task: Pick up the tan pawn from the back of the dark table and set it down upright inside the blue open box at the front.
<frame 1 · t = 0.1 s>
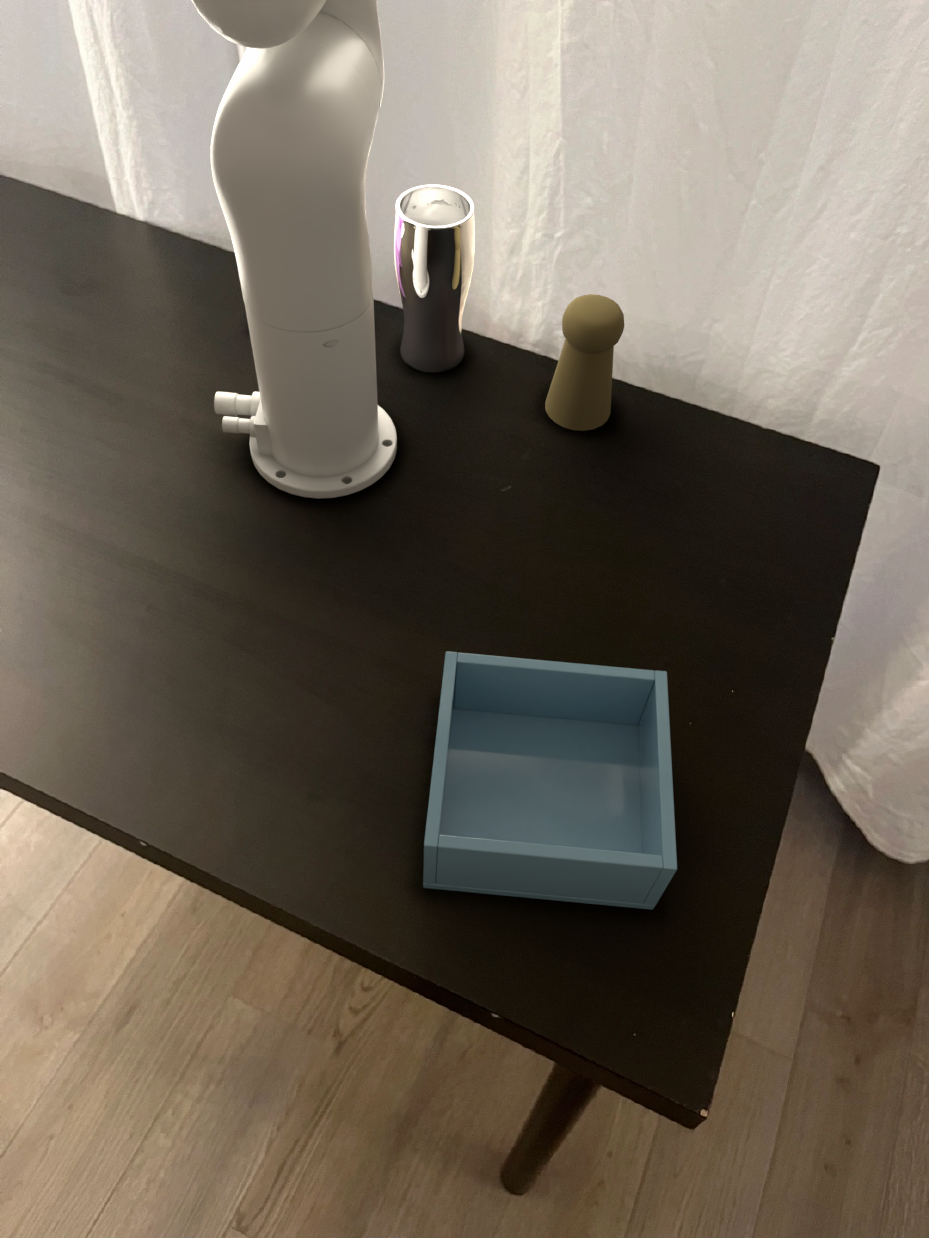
beer glass: (432, 354, 91), on the table
blue open box: (541, 800, 64), on the table
tan pawn: (577, 409, 88), on the table
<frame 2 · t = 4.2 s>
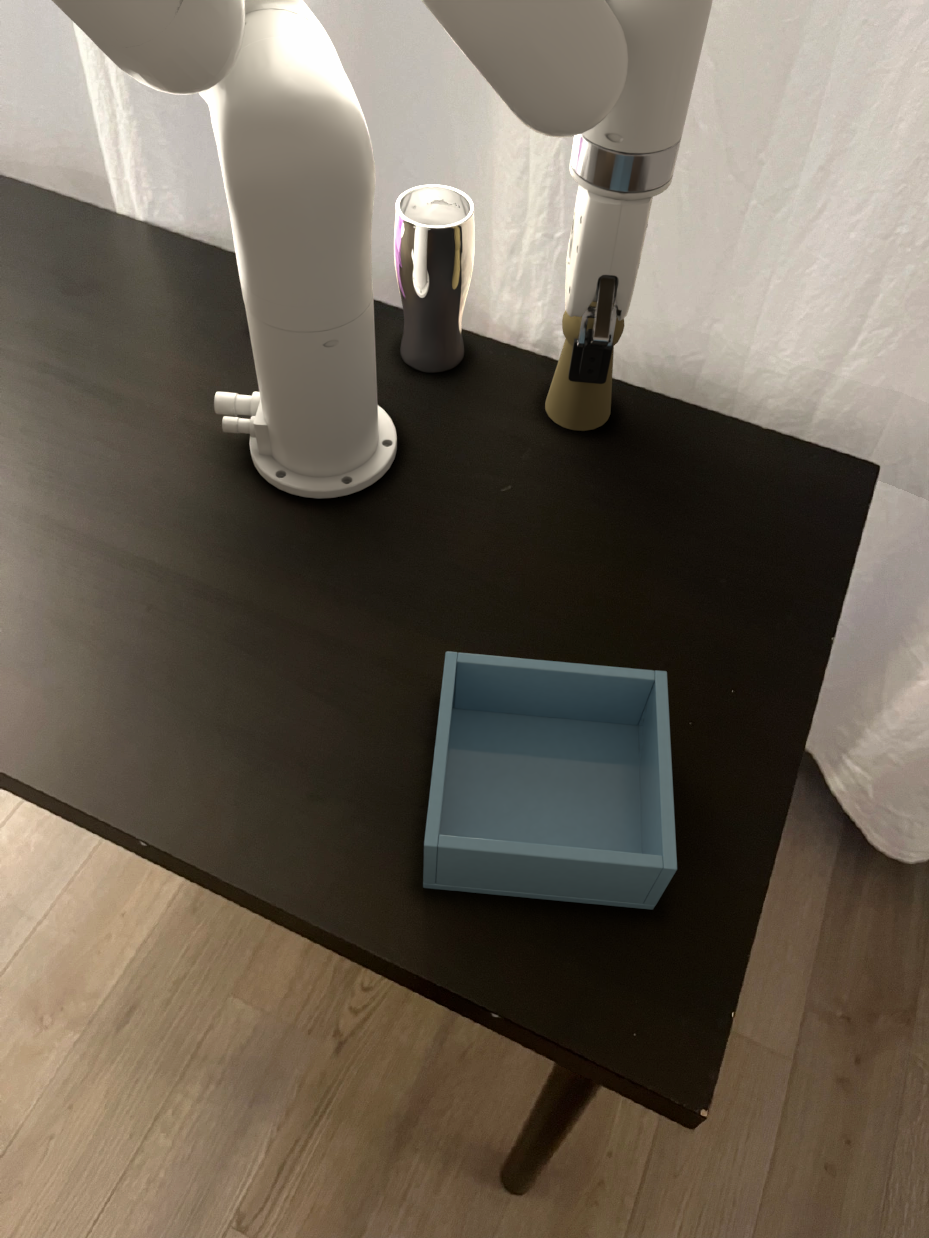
hand: (587, 356, 83), 6 cm above the table, tool pointing down, fingers closed on tan pawn, 5 cm apart
tan pawn: (577, 409, 88), on the table, touching gripper
everything else where it was.
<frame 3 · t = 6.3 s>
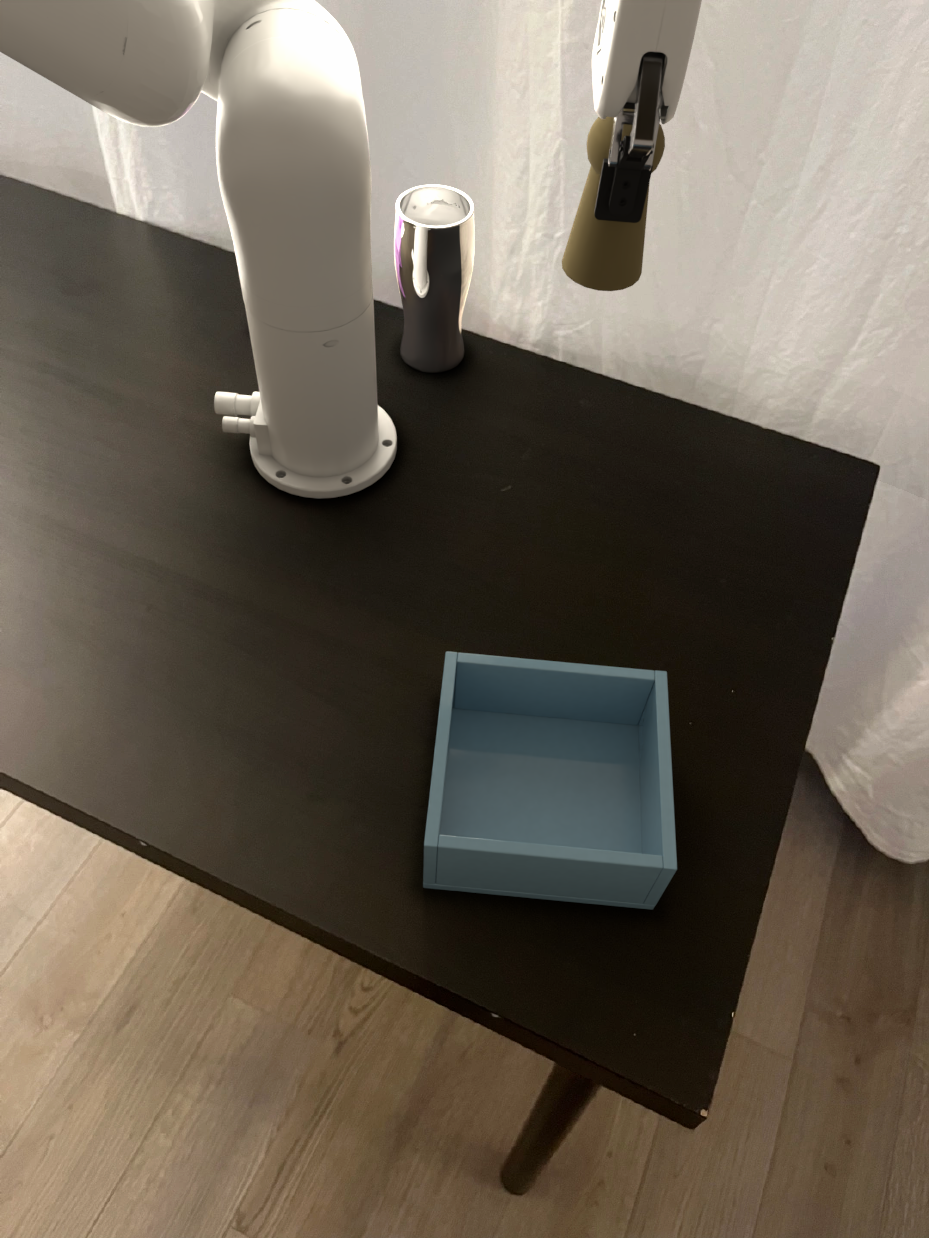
hand: (615, 193, 67), 23 cm above the table, tool pointing down, fingers closed on tan pawn, 5 cm apart
tan pawn: (601, 269, 72), point 17 cm above the table, touching gripper
everything else where it was.
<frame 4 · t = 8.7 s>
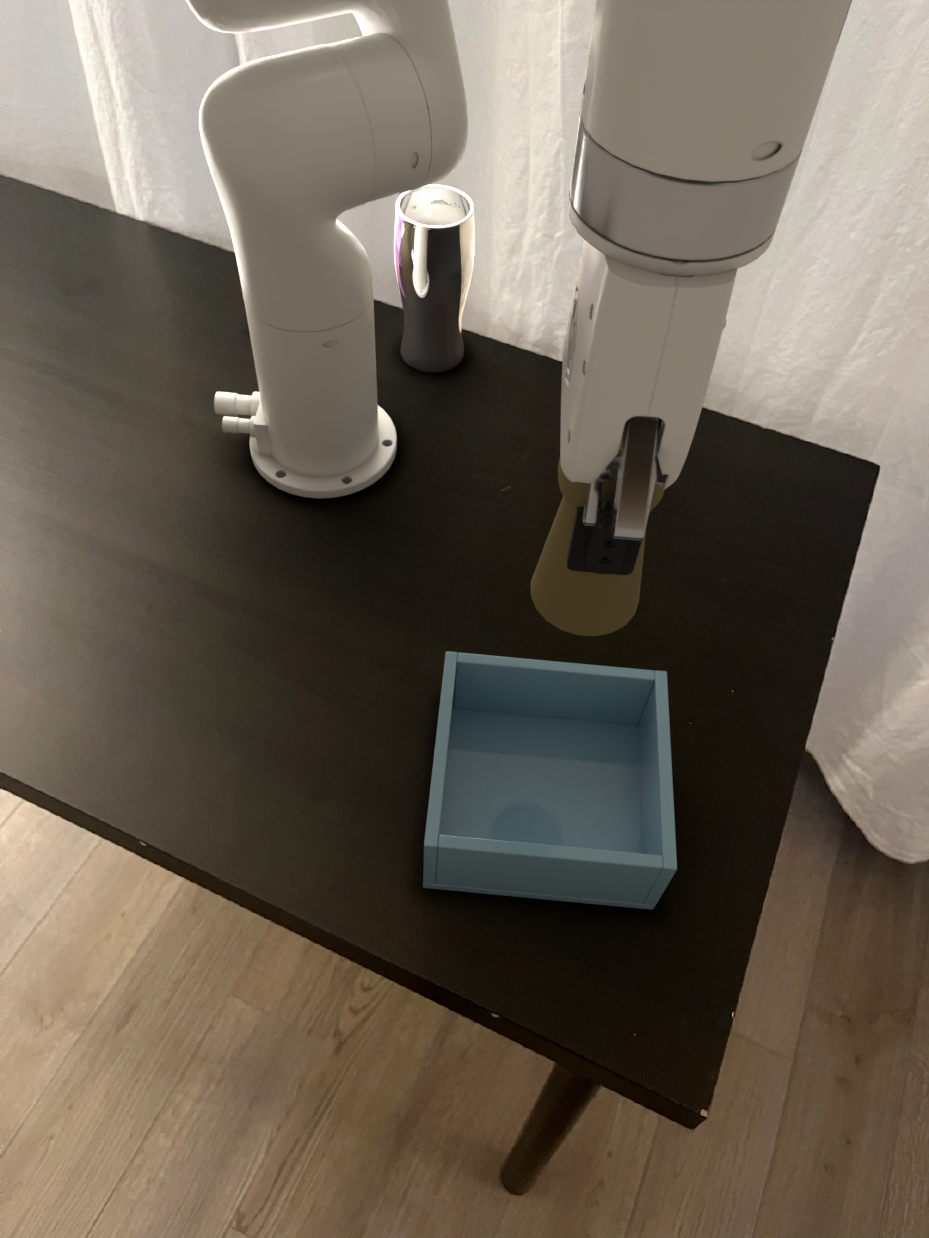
hand: (598, 520, 48), 23 cm above the table, tool pointing down, fingers closed on tan pawn, 5 cm apart
tan pawn: (584, 593, 53), point 17 cm above the table, touching gripper
everything else where it was.
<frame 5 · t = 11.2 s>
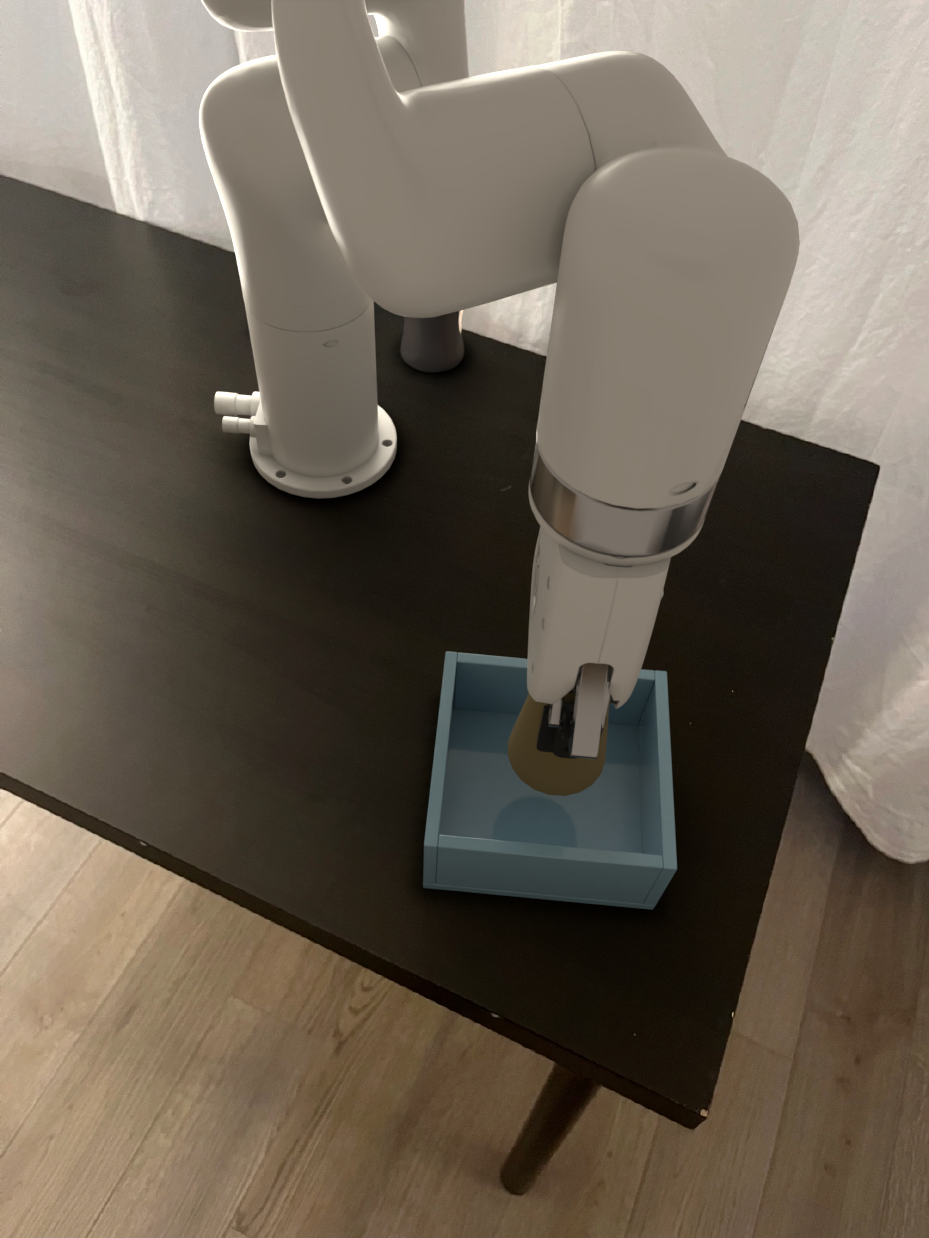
hand: (566, 701, 54), 13 cm above the table, tool pointing down, fingers closed on tan pawn, 5 cm apart
tan pawn: (556, 752, 59), point 7 cm above the table, touching gripper
everything else where it was.
when the fingers open (7 cm above the table, at t = 13.2 s): tan pawn stays where it is, resting on blue open box.
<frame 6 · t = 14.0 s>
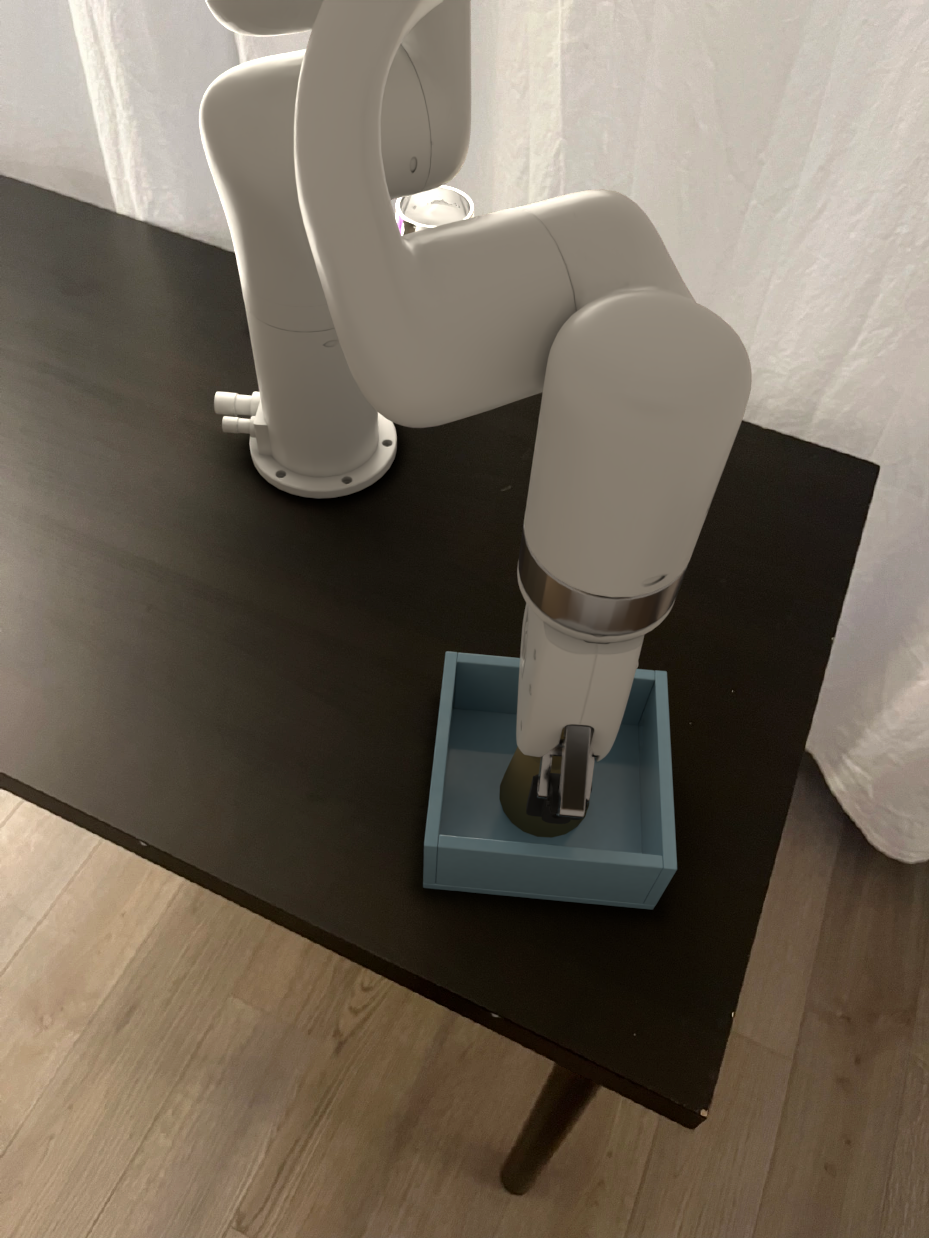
hand: (555, 738, 58), 8 cm above the table, tool pointing down, fingers open, 9 cm apart
tan pawn: (544, 796, 64), point 1 cm above the table, touching blue open box
everything else where it was.
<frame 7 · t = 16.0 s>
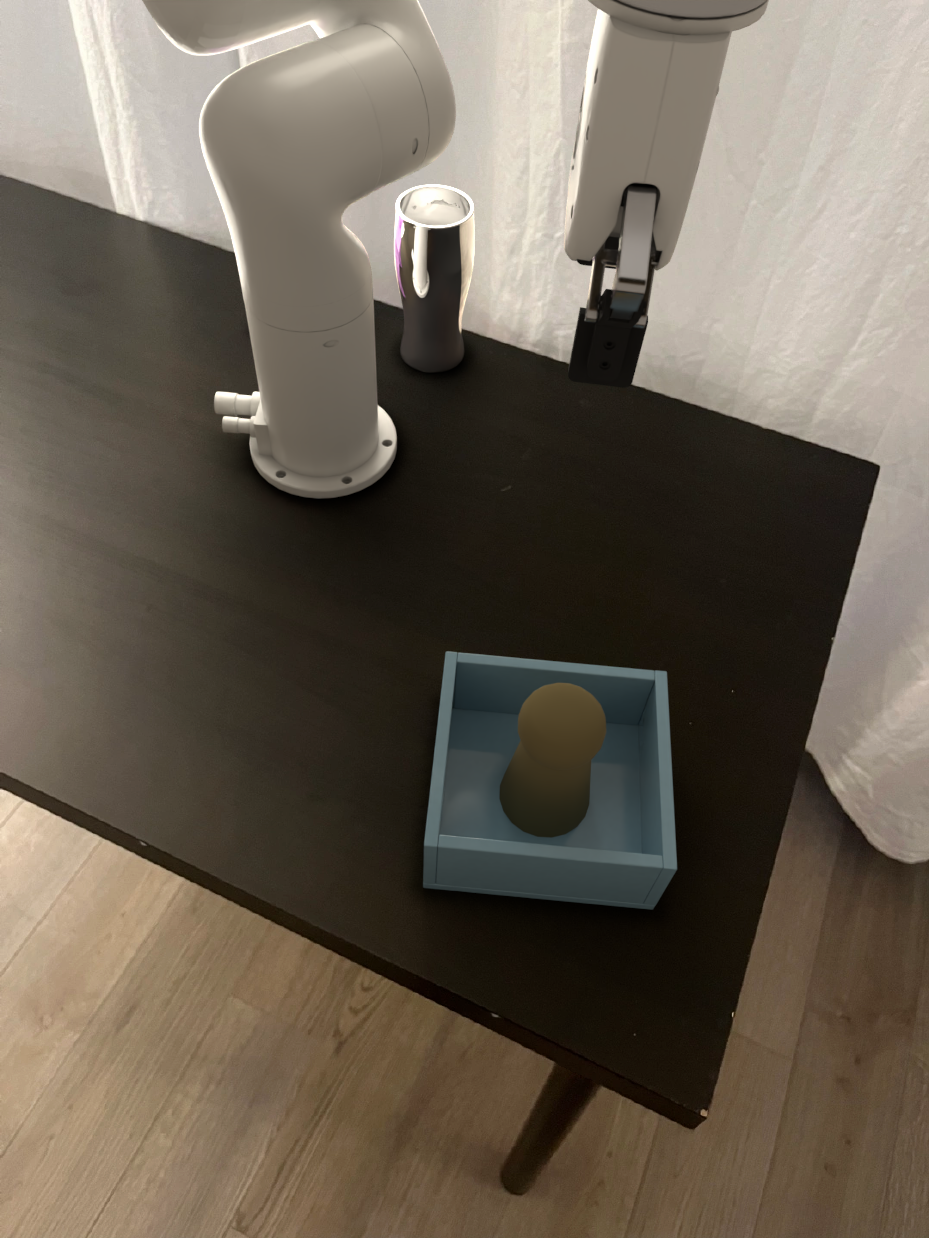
hand: (601, 319, 51), 28 cm above the table, tool pointing down, fingers open, 9 cm apart
nothing on the table moved.
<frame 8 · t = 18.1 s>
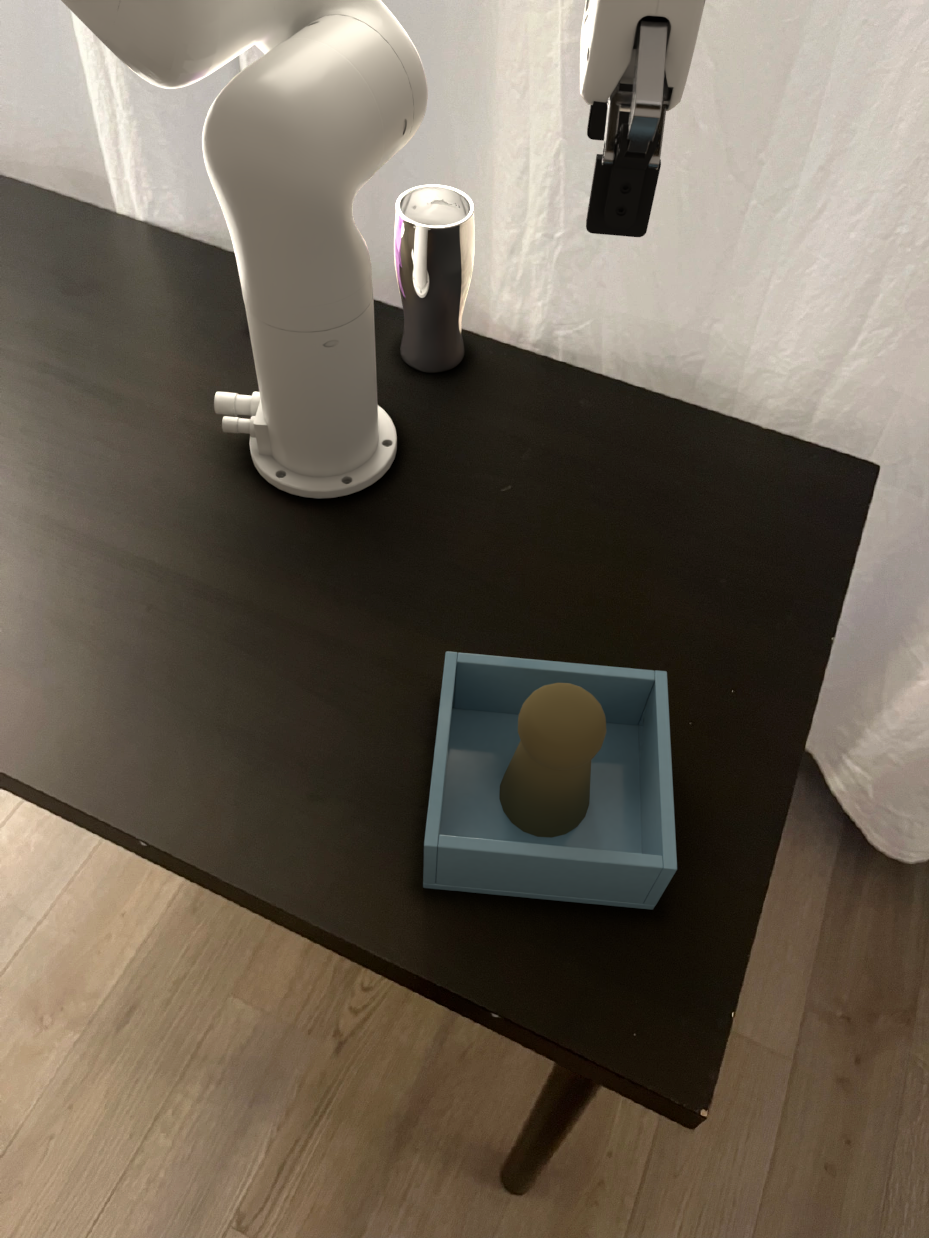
hand: (614, 183, 54), 30 cm above the table, tool pointing down, fingers open, 9 cm apart
nothing on the table moved.
at the end: tan pawn inside the target area in the blue open box (0.1 cm from its centre), point 0.6 cm above the blue open box's base; tan pawn tilted 0°; the gripper is holding nothing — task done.
